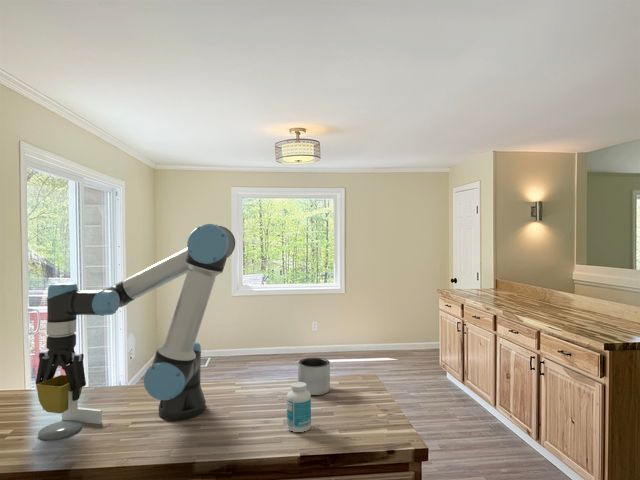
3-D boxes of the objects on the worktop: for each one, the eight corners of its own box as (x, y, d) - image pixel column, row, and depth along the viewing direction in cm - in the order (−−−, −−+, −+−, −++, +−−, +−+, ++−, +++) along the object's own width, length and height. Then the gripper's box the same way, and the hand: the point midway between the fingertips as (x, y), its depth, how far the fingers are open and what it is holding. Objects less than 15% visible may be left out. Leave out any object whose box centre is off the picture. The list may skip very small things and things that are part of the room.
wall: (102, 422, 124) (102, 409, 124) (99, 423, 123) (99, 411, 123) (64, 418, 126) (64, 406, 126) (61, 419, 125) (62, 407, 125)
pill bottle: (314, 424, 123) (314, 381, 123) (305, 435, 116) (306, 390, 116) (292, 421, 125) (292, 379, 125) (282, 431, 118) (283, 386, 118)
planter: (294, 395, 146) (294, 366, 146) (301, 383, 159) (301, 356, 159) (327, 398, 144) (327, 367, 144) (332, 385, 157) (332, 358, 157)
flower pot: (60, 417, 113) (60, 386, 113) (34, 414, 114) (35, 384, 114) (83, 405, 121) (84, 376, 121) (60, 402, 123) (60, 374, 123)
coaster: (90, 424, 122) (90, 422, 122) (60, 442, 111) (60, 439, 111) (60, 421, 124) (60, 418, 124) (28, 438, 113) (28, 435, 114)
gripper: (101, 333, 120) (99, 407, 119) (43, 329, 124) (42, 401, 124) (81, 339, 112) (80, 418, 112) (21, 335, 116) (19, 411, 116)
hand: (60, 409), depth 118 cm, fingers closed on flower pot, 8 cm apart
